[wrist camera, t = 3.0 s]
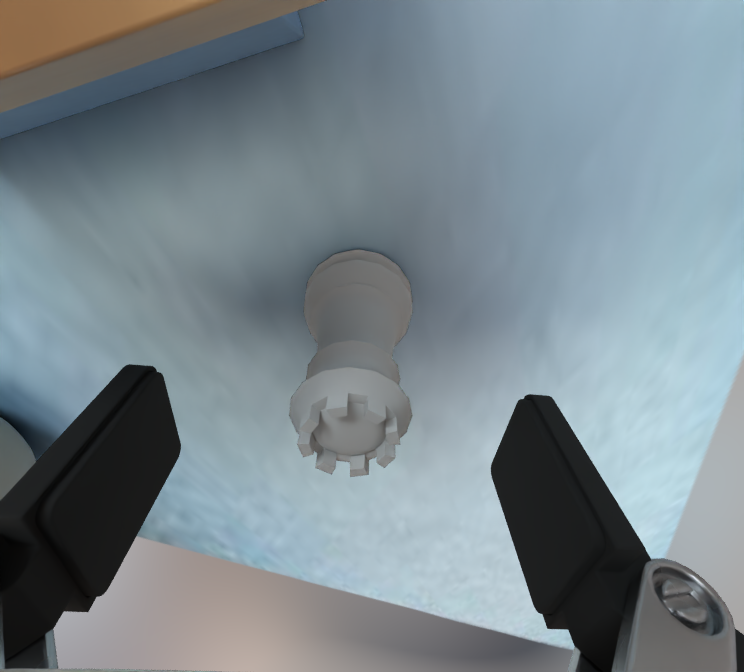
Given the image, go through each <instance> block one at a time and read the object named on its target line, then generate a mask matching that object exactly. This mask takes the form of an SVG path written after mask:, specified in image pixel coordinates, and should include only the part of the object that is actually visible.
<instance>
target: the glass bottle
mask: <svg viewBox="0 0 744 672" xmlns="http://www.w3.org/2000/svg"><path fill="white" fill-rule="evenodd" d="M35 463H36V459H35V457H34V454H33V452H32V450H31V448H30V446H29V445H28V444H27V442H26V441H25V440H24V438H23V437H22V436H21V435H20V434H19V433H18V432H17V431H16V429H15V428H13V427H12V426H11V425H10V424H9V423H8V422H7V421H5V420H4V419H2V418H1V417H0V500H1V499H2V498H3V497H4V496H5V495H6V494H7V493H8V492H9V491H10V490H11V489H12V488H13V486H14V485H15V484H16V483H17V482H18V481H19V480H20V479H21V478H22V477H23V476H24V475H25V473H26V472H27V471H28V470H29V469H30V468H31V467H32V466H33V465H34V464H35Z"/></svg>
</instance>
